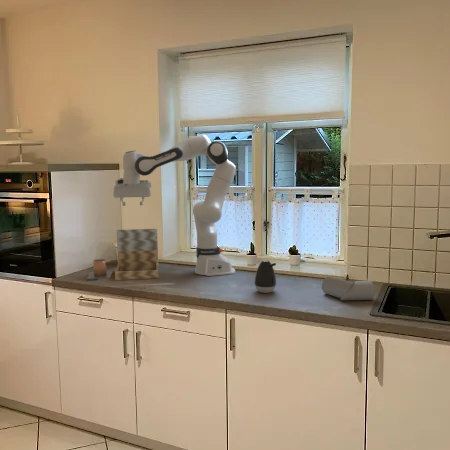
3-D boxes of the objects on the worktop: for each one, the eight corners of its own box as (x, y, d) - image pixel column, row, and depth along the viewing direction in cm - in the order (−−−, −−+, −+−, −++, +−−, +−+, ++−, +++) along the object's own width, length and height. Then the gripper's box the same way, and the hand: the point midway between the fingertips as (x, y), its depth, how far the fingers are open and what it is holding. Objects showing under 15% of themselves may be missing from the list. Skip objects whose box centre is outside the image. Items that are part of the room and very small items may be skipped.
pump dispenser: (270, 296, 216) (270, 263, 214) (250, 292, 221) (250, 261, 219) (280, 290, 224) (280, 259, 222) (260, 287, 230) (261, 257, 228)
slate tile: (112, 273, 261) (112, 271, 261) (110, 279, 248) (110, 277, 248) (90, 274, 260) (90, 272, 260) (86, 280, 246) (86, 278, 246)
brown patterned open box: (158, 270, 266) (157, 228, 262) (158, 279, 246) (157, 234, 243) (118, 272, 263) (116, 229, 259) (115, 281, 243) (113, 235, 240)
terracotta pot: (106, 273, 257) (106, 258, 256) (105, 276, 251) (105, 261, 250) (94, 273, 256) (94, 258, 255) (93, 276, 250) (92, 261, 249)
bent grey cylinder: (330, 301, 203) (375, 300, 204) (329, 277, 204) (374, 276, 205) (319, 298, 221) (362, 297, 222) (319, 276, 221) (361, 275, 222)
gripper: (150, 179, 265) (151, 204, 267) (113, 180, 262) (114, 205, 264) (150, 180, 259) (151, 205, 261) (112, 181, 256) (113, 206, 258)
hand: (132, 205), depth 263 cm, fingers open, 8 cm apart
